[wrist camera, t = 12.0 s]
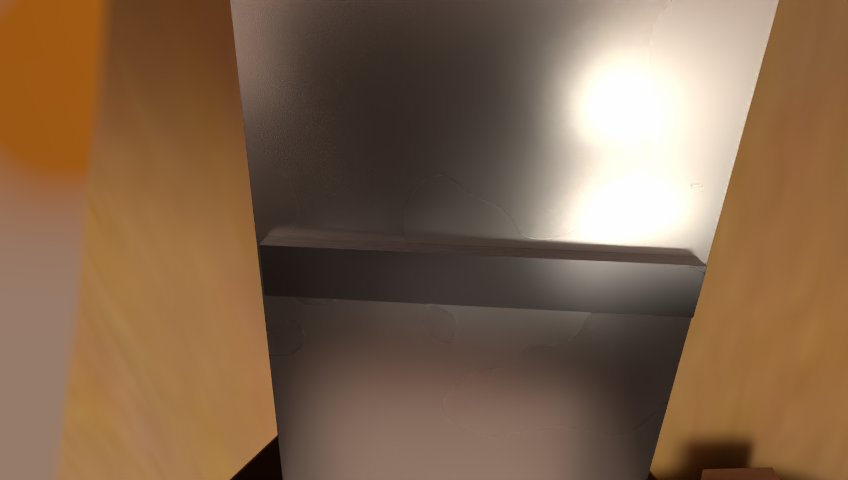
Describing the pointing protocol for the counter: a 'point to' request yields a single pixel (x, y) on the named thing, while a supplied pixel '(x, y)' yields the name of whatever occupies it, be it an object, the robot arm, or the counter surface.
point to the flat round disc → (739, 474)
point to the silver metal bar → (486, 223)
